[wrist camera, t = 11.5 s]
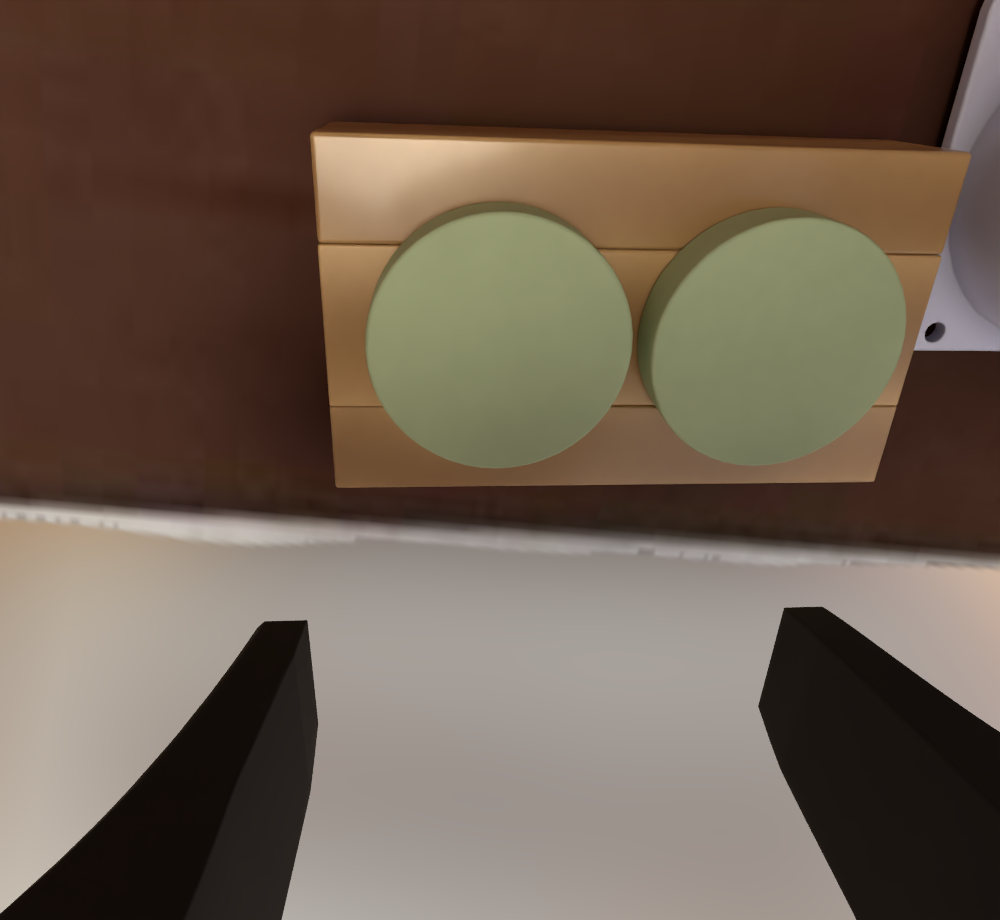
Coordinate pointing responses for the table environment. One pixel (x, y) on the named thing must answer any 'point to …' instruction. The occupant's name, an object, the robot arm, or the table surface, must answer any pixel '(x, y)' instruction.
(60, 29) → the table surface
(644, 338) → the fitted pad
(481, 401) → the pad
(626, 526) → the table surface
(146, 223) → the table surface
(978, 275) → the robot arm
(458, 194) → the block
